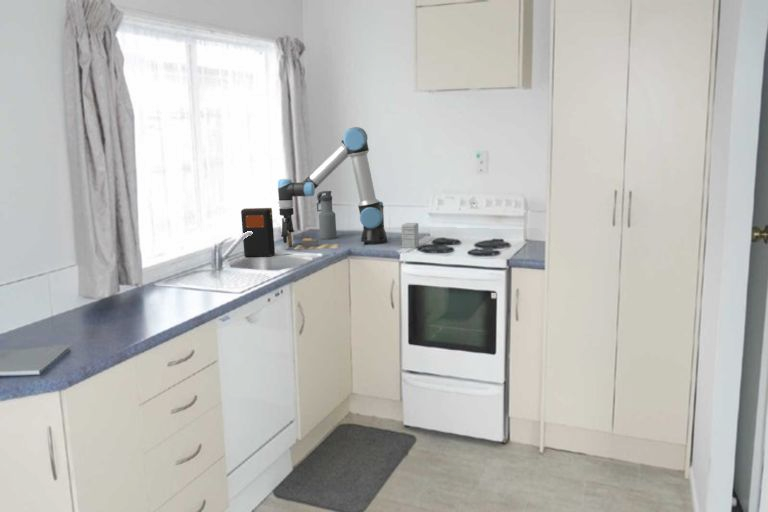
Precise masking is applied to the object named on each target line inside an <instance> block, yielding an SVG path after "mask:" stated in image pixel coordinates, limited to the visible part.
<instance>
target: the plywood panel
mask: <svg viewBox="0 0 768 512" xmlns="http://www.w3.org/2000/svg"><path fill="white" fill-rule="evenodd" d="M340 246H341V244H340V243H339V244H338V243H334V244H330V243H329V244H318V245H317V246H316V247H302V244H297V245H296V246H295V247H294V248H293V250H314V249H315V250H317V249H318V250H319V249H338V248H339V247H340Z"/></svg>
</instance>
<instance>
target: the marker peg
mask: <svg viewBox="0 0 768 512" xmlns="http://www.w3.org/2000/svg"><path fill="white" fill-rule="evenodd" d="M288 245H289V248H288V250H289V249H290V248H292V247H293V244H292V237H291V232H288Z"/></svg>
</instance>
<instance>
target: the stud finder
mask: <svg viewBox="0 0 768 512" xmlns="http://www.w3.org/2000/svg"><path fill="white" fill-rule="evenodd" d="M301 245H302V247H316V246H317V245H319V244H318V239H314V238H308V237H307V238H302V240H301Z"/></svg>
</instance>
